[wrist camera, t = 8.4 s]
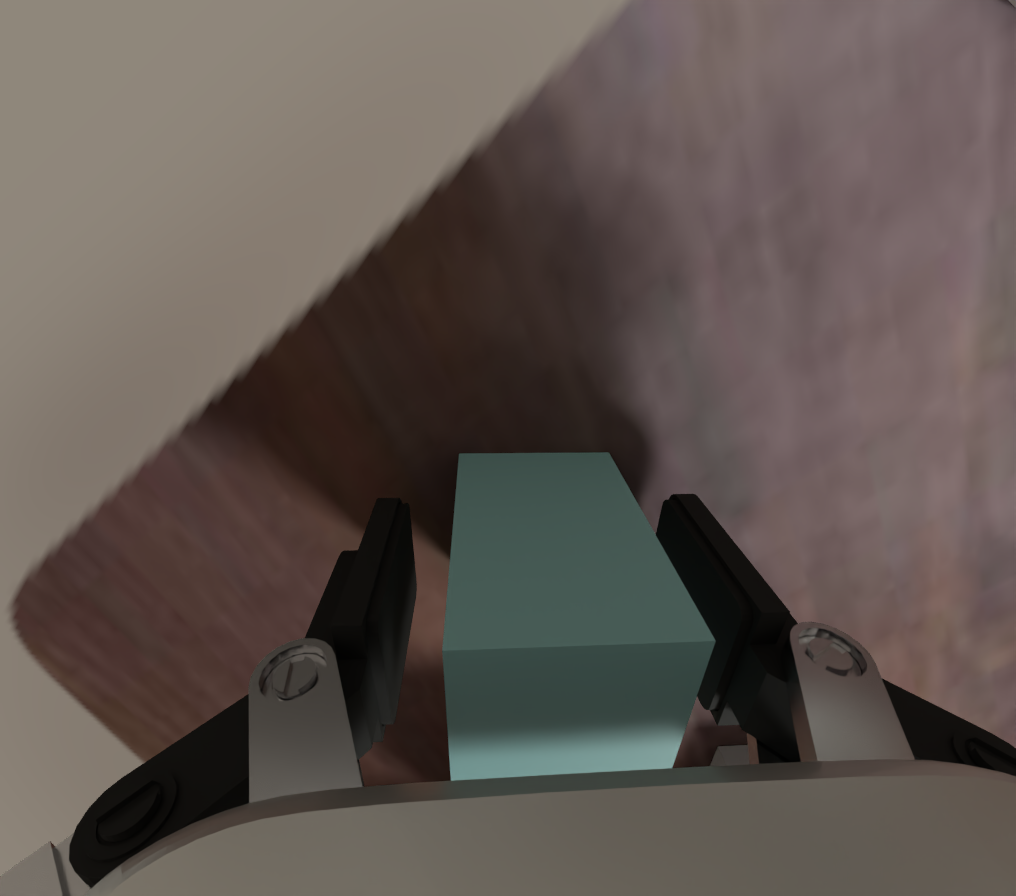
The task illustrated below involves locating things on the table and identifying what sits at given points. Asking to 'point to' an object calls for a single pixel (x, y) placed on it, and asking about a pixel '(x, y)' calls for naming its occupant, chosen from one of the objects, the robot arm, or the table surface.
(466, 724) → the teal and white dumbbell
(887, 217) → the table surface
